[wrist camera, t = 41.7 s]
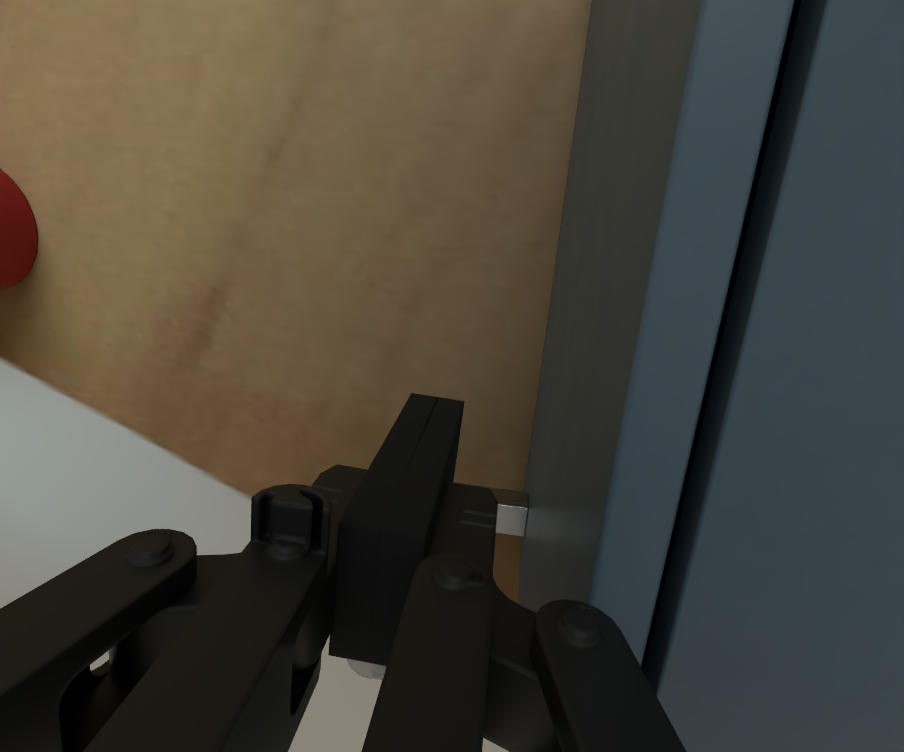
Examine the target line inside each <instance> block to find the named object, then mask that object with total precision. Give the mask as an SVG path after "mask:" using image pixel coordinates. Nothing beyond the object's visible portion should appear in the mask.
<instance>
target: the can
mask: <svg viewBox="0 0 904 752" xmlns="http://www.w3.org/2000/svg"><path fill="white" fill-rule="evenodd" d="M36 249H37V230H36V225H35V220H34V217H33V214H32V211H31V209H30V206H29V204H28V202H27V200H26V198H25V196H24V195H23V193H22V192H21V190H20V189H19V187H18V186H17V185H16V184H15V183H14V181H13V180H12V179H11V178H10V177H9V176H8V175H7V174H6V173H4V172H3V171H2V170H0V290H1V289H4V288H8V287H10V286H12V285H14V284H16V283H17V282H19V281H20V280H21V279H22V278H23V277H24V276H25V275H26V274H27V272H28V271H29V269H30V268H31V266H32V264H33V261H34V258H35V254H36Z"/></svg>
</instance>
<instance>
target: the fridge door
mask: <svg viewBox="0 0 904 752" xmlns="http://www.w3.org/2000/svg"><path fill="white" fill-rule="evenodd" d="M794 1H795V0H592V5H591V12H590V19H589V27H588V34H587V41H586V48H585V55H584V62H583V70H582V77H581V84H580V91H579V98H578V106H577V113H576V120H575V127H574V134H573V142H572V149H571V156H570V163H569V170H568V178H567V185H566V192H565V199H564V206H563V214H562V221H561V228H560V235H559V242H558V250H557V257H556V264H555V271H554V278H553V286H552V293H551V300H550V307H549V314H548V322H547V329H546V336H545V343H544V350H543V358H542V365H541V372H540V379H539V386H538V394H537V401H536V408H535V415H534V422H533V429H532V437H531V444H530V451H529V458H528V465H527V473H526V480H525V487H524V492H520V491H512V490H505V489H498V488H490V487H483V486H477V487H483V488H489V489H490V490H491V491H492V493H493V495H494V496H495V498H496V499H497V501H498V511H497V523H496V533H502V534H509V535H516V536H521V538H520V594H519V605H521V606H523V607H525V608H527V609H529V610H532V611H534V612H536V613H538V611H539V609H540V607H542V606H543V605H545V604H547V603H549V602H550V601H555V600H563V599H568V600H574V601H581V602H584V603H586V604H589V605H591V606H594V607H596V608H598V609H600V610H601V611H602V612H604V613H605V614H607V615H608V616H609V617H611V618H612V619H613V621H614V622H615V623H616V625H617V626H618V627H619V628H620V630H621V631H622V633H623V635H624V637H625V639H626V641H627V642H628V644H629V646H630V648H631V650H632V652H633V653H634V655H635V657H636V659H637V661H638V663H639V665H640V666H641V665H642V661H643V656H644V652H645V647H646V643H647V639H648V634H649V630H650V626H651V621H652V617H653V613H654V608H655V604H656V600H657V595H658V591H659V587H660V582H661V578H662V574H663V569H664V565H665V561H666V556H667V552H668V548H669V543H670V539H671V535H672V530H673V526H674V522H675V517H676V513H677V509H678V504H679V500H680V496H681V491H682V487H683V482H684V478H685V474H686V469H687V465H688V461H689V456H690V452H691V448H692V443H693V439H694V435H695V430H696V426H697V422H698V417H699V413H700V409H701V404H702V400H703V396H704V391H705V387H706V383H707V378H708V374H709V370H710V365H711V361H712V357H713V352H714V348H715V344H716V339H717V335H718V331H719V326H720V322H721V317H722V313H723V309H724V304H725V300H726V296H727V291H728V287H729V283H730V278H731V274H732V270H733V265H734V261H735V257H736V252H737V248H738V244H739V239H740V235H741V231H742V226H743V222H744V218H745V213H746V209H747V205H748V200H749V196H750V192H751V187H752V183H753V179H754V174H755V170H756V166H757V161H758V157H759V153H760V148H761V144H762V139H763V135H764V131H765V126H766V122H767V118H768V113H769V109H770V105H771V100H772V96H773V92H774V87H775V83H776V79H777V74H778V70H779V66H780V61H781V57H782V53H783V48H784V44H785V40H786V35H787V31H788V27H789V22H790V18H791V14H792V9H793V5H794ZM453 483H454V482H453ZM459 484H461V483H459ZM465 485H469V484H465ZM471 486H476V485H471ZM347 661H348V664H349V665H350V667H351V668H352V669H353V670H354V671H355V672H356V673H357V674H359V675H361V676H363V677H366V678H374V679H380V680H383V677H384V673H385V670H386V666H382V665H377V664H372V663H366V662H362V661H356V660H351V659H347Z"/></svg>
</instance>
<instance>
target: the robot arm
mask: <svg viewBox="0 0 904 752" xmlns="http://www.w3.org/2000/svg"><path fill="white" fill-rule="evenodd" d="M463 408H464V401H459V400H452V399H446V398H440V397H434V396H427V395H421V394H415V393H411V395H410V397H409V399H408V400H407V402H406V404H405V406H404V407H403V409H402V411H401V413H400V414H399V416H398V418H397V420H396V421H395V423H394V425H393V427H392V428H391V430H390V432H389V434H388V435H387V437H386V439H385V441H384V442H383V444H382V446H381V448H380V449H379V451H378V453H377V455H376V456H375V458H374V460H373V462H372V463H371V465H370V467H369V469H368V470H366V469H360V468H354V467H348V466H343V465H335V466H334V467H332V468H330V469H328V470H326V471H324V472H322V473H320V475H319V476H318V478H317V479H316V480H315V482H314V483H313V484H312V487H310V486H306V485H297V484H286V485H278V486H273V487H270V488H267V489H264V490H261V491H260V492H258V493H257V494H256V495H254V496H253V497H252V504H251V508H252V509H251V541H250V542H249V543H248V545H247V546H246V547H245V549H244V550H243V551H242V552H241V553H236V554H226V555H197V546H196V545H195V542H194V540H193V538H192V537H190V536H188V535H187V534H185V533H184V532H180V531H175V530H171V529H152V530H147V531H142V532H138V533H134V534H132V535H129V536H127V537H125V538H123V539H120V540H118V541H116V542H115V543H113V544H111V545H110V546H108V547H106V548H104V549H103V550H101V551H99V552H97V553H96V554H94V555H92V556H91V557H89V558H87V559H85V560H84V561H82V562H80V563H78V564H77V565H75V566H74V567H72V568H70V569H68V570H67V571H65V572H63V573H61V574H59V575H58V576H56V577H54V578H53V579H51V580H49V581H47V582H46V583H44V584H42V585H41V586H39V587H37V588H35V589H34V590H32V591H30V592H29V593H27V594H25V595H23V596H22V597H20V598H18V599H16V600H15V601H13V602H11V603H10V604H8V605H6V606H4V607H3V608H1V609H0V752H288V750H289V748H290V745H291V743H292V740H293V737H294V736H295V733H296V731H297V729H298V726H299V724H300V722H301V719H302V717H303V715H304V712H305V710H306V707H307V705H308V703H309V700H310V698H311V696H312V693H313V691H314V689H315V686H316V684H317V682H318V679H319V673H320V667H321V666H320V665H321V652H322V650H323V648H324V646H325V643H326V641H327V639H328V637H329V634H330V643H329V655H331V656H336V657H341V658H346V659H351V660H356V661H362V662H366V663H372V664H377V665H382V666H386V670H385V673H384V677H383V680H382V684H381V687H380V690H379V694H378V697H377V701H376V704H375V707H374V711H373V714H372V718H371V721H370V725H369V728H368V731H367V736H366V738H365V742H364V745H363V749H362V752H482V743H483V738H485V739H487V740H489V741H491V742H493V743H495V744H496V745H498V746H500V747H502V748H504V749H506V750H508V751H509V752H687V751H686V750H685V748H684V746H683V744H682V742H681V740H680V739H679V737H678V735H677V733H676V731H675V729H674V727H673V726H672V724H671V722H670V720H669V718H668V716H667V715H666V713H665V711H664V709H663V707H662V705H661V703H660V702H659V700H658V698H657V696H656V694H655V692H654V690H653V689H652V687H651V685H650V683H649V681H648V679H647V678H646V676H645V674H644V672H643V670H642V668H641V666H640V665H639V663H638V661H637V659H636V657H635V655H634V653H633V652H632V650H631V648H630V646H629V644H628V642H627V641H626V639H625V637H624V635H623V633H622V631H621V630H620V628H619V627H618V626H617V625H616V623H615V622H614V621H613V619H612V618H611V617H609V616H608V615H607V614H605V613H604V612H602V611H601V610H600V609H598V608H596V607H594V606H591V605H589V604H586V603H584V602H581V601H574V600H568V599H563V600H555V601H550V602H549V603H547V604H545V605H543V606H542V607H540V609H539V611H538V613H536V612H534V611H532V610H529V609H527V608H525V607H523V606H521V605H519V604H517V603H515V602H513V601H512V600H511V599H509V598H508V597H507V596H505V595H504V594H503V593H502V592H501V590H500V589H499V588H498V587H497V585H496V583H495V581H494V579H493V560H494V548H495V536H496V523H497V511H498V501H497V499H496V498H495V496H494V495H493V493H492V491H491V490H490V489H489V488H483V487H477V486H471V485H465V484H459V483H453V479H454V472H455V465H456V458H457V451H458V444H459V436H460V429H461V422H462V415H463ZM108 650H109V660H108V661H107V662H105V663H104V664H103V665H102V666H100V667H98V668H96V669H95V670H92V671H91V670H90V664H91V663H93V662H94V661H95V660H97V659H98V658H99V657H101V656H102V655H103V654H104V653H106V652H107V651H108Z"/></svg>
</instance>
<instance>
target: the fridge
mask: <svg viewBox="0 0 904 752" xmlns="http://www.w3.org/2000/svg"><path fill="white" fill-rule="evenodd" d="M641 668H642V670H643V672H644V674H645V676H646V678H647V679H648V681H649V683H650V685H651V687H652V689H653V690H654V692H655V694H656V696H657V698H658V700H659V702H660V703H661V705H662V707H663V709H664V711H665V713H666V715H667V716H668V718H669V720H670V722H671V724H672V726H673V727H674V729H675V731H676V733H677V735H678V737H679V739H680V740H681V742H682V744H683V746H684V748H685V750H686V751H687V752H904V0H795V1H794V5H793V9H792V14H791V18H790V22H789V27H788V31H787V35H786V40H785V44H784V48H783V53H782V57H781V61H780V66H779V70H778V74H777V79H776V83H775V87H774V92H773V96H772V100H771V105H770V109H769V113H768V118H767V122H766V126H765V131H764V135H763V139H762V144H761V148H760V153H759V157H758V161H757V166H756V170H755V174H754V179H753V183H752V187H751V192H750V196H749V200H748V205H747V209H746V213H745V218H744V222H743V226H742V231H741V235H740V239H739V244H738V248H737V252H736V257H735V261H734V265H733V270H732V274H731V278H730V283H729V287H728V291H727V296H726V300H725V304H724V309H723V313H722V317H721V322H720V326H719V331H718V335H717V339H716V344H715V348H714V352H713V357H712V361H711V365H710V370H709V374H708V378H707V383H706V387H705V391H704V396H703V400H702V404H701V409H700V413H699V417H698V422H697V426H696V430H695V435H694V439H693V443H692V448H691V452H690V456H689V461H688V465H687V469H686V474H685V478H684V482H683V487H682V491H681V496H680V500H679V504H678V509H677V513H676V517H675V522H674V526H673V530H672V535H671V539H670V543H669V548H668V552H667V556H666V561H665V565H664V569H663V574H662V578H661V582H660V587H659V591H658V595H657V600H656V604H655V608H654V613H653V617H652V621H651V626H650V630H649V634H648V639H647V643H646V647H645V652H644V656H643V661H642V665H641Z"/></svg>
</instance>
